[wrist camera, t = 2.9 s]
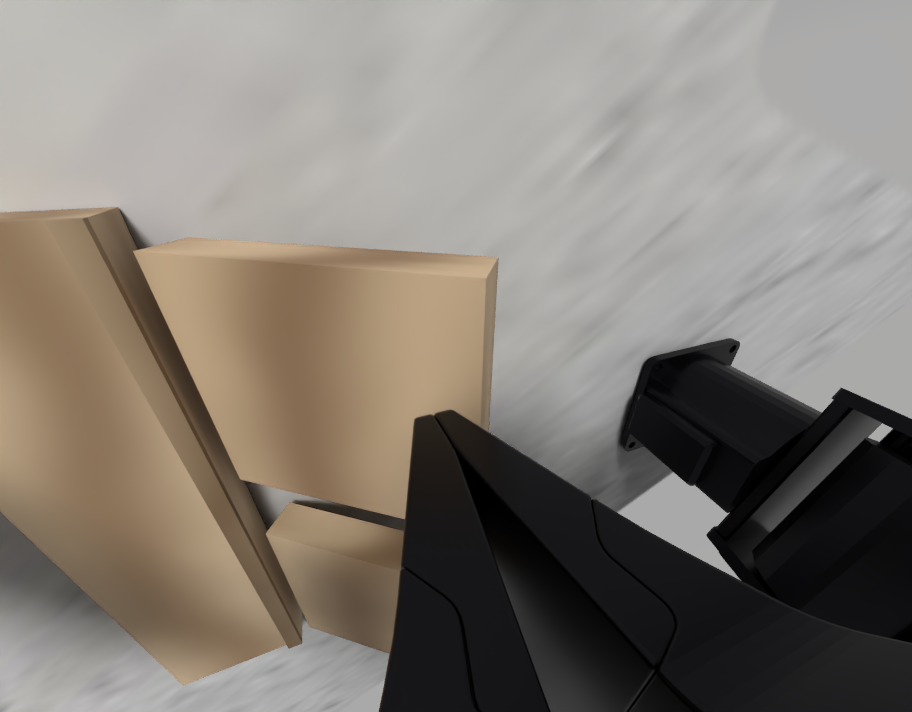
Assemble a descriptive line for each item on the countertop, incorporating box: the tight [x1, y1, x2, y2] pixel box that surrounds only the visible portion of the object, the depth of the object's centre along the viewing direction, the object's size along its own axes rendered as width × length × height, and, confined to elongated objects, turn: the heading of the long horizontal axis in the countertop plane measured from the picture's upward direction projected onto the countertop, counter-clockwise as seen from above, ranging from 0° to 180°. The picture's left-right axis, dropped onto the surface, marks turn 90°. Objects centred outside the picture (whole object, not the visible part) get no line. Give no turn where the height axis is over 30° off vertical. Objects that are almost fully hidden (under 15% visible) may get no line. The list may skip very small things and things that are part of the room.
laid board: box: [0, 207, 302, 685], centre depth 12 cm, size 5×20×2 cm, turn 0°
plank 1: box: [133, 238, 498, 519], centre depth 9 cm, size 8×8×1 cm
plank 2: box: [266, 502, 404, 654], centre depth 15 cm, size 8×8×1 cm
